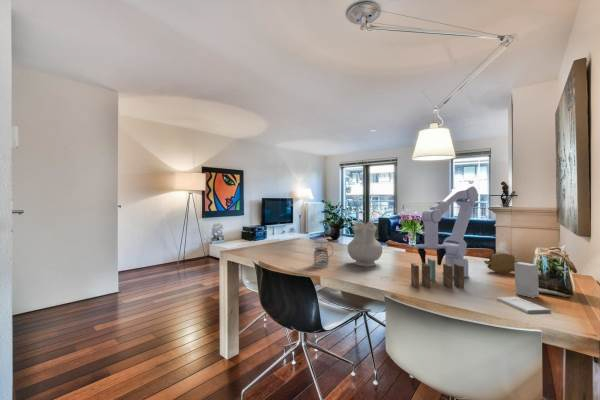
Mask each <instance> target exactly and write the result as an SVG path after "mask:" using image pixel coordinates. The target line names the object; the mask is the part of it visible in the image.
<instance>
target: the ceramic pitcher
mask: <svg viewBox="0 0 600 400" xmlns="http://www.w3.org/2000/svg"><path fill="white" fill-rule="evenodd" d="M374 223H375V222H373V221H370V220H368V221H367V222H360V221H357V222H356V223H355V224H354V225H352V226H351V229H352V231H353V233H354V234H353V235H354V237H353V239H352V240H351V241H350V242H348V244H347V252H348V255H349V256H350V259H352V260H353V261H355V263H353V264H354V265H356V266H358V267H367V268H368V267H369V268H370V267H374V266H376V261H378V260H379V259H380V258H381V257H382V254H383V245H382V244H381V242H379V241H378V240H377V239H376V233H377V232H376V231H377V230H378V226H376V225H375V224H374Z"/></svg>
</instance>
